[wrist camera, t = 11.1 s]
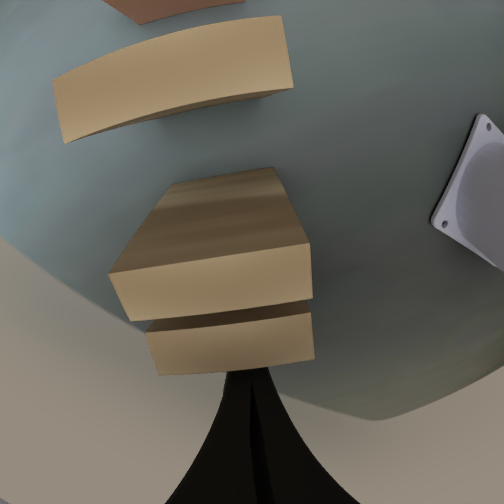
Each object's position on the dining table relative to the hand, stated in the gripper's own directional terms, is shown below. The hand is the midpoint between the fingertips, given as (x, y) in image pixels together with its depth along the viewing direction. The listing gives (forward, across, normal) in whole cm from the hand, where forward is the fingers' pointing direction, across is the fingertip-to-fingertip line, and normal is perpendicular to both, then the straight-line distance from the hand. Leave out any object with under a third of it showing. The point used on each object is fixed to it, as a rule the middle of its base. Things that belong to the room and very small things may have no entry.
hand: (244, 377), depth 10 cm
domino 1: (+7, 0, 0) cm, 7 cm away
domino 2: (+7, +2, -5) cm, 9 cm away
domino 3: (+7, +3, -10) cm, 12 cm away
